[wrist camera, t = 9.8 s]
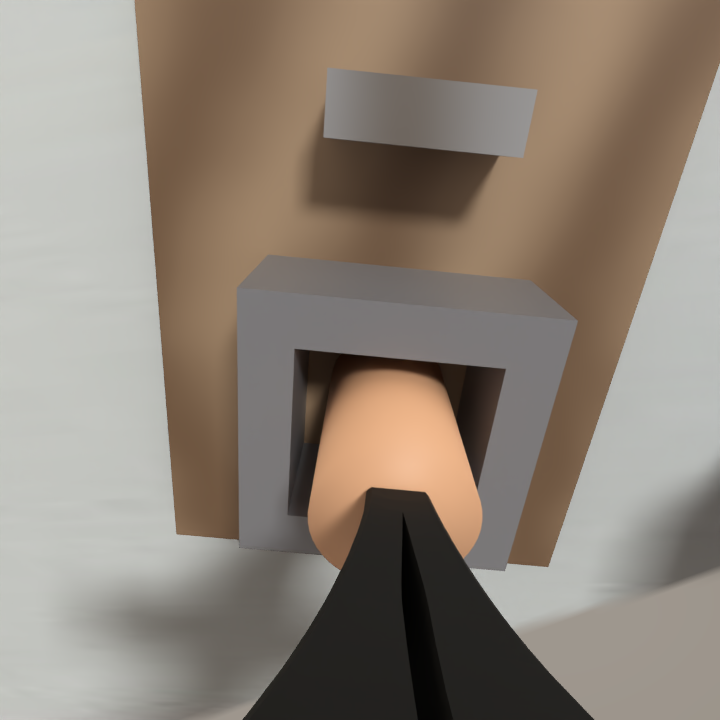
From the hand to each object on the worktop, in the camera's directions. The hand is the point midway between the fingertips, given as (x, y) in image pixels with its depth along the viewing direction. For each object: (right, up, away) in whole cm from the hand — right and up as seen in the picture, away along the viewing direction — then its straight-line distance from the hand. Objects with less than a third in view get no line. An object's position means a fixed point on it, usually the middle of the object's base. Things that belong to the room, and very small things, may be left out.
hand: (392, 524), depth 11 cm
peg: (0, +3, +6) cm, 7 cm away
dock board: (+1, +8, +5) cm, 10 cm away
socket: (0, +3, +6) cm, 7 cm away
